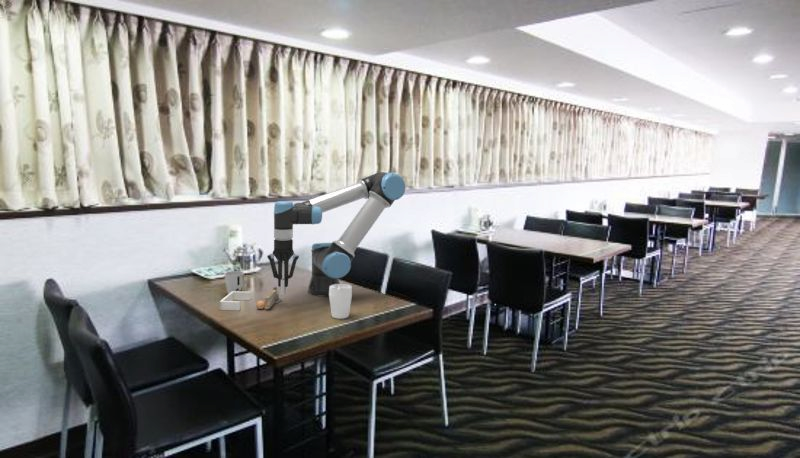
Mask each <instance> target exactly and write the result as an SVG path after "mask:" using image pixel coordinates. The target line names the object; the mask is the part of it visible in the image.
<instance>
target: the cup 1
mask: <svg viewBox="0 0 800 458" xmlns="http://www.w3.org/2000/svg"><path fill="white" fill-rule="evenodd" d="M244 276H245V272H244V271H242V270H241V271H240V270H232V271H231V270H230V271H227V272H224V282H225V288H226V292H227V295H228V294H229V293H230V292H232V291H241V292H243V288H244V287H243V286H244V280H245V279H244Z"/></svg>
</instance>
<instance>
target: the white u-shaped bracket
mask: <svg viewBox="0 0 800 458" xmlns="http://www.w3.org/2000/svg"><path fill="white" fill-rule="evenodd" d="M251 295H252V294H251V291H242V292H241V291H232V292H230V293H229V294H228V293H227V295H226V296H225V297H223V298H221V300H220V301H219V302H218V303H219V307H218V308H219V309H218V310H219V311H238V312H239V311H241V301H250V300H252V297H251Z"/></svg>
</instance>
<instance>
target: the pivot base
mask: <svg viewBox="0 0 800 458" xmlns="http://www.w3.org/2000/svg"><path fill="white" fill-rule="evenodd" d="M281 302H283V299H282V298H280V297H279V299H278V300H276V301H275V302H274V304H279V303H281Z"/></svg>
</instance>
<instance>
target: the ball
mask: <svg viewBox="0 0 800 458" xmlns="http://www.w3.org/2000/svg"><path fill="white" fill-rule="evenodd" d="M256 308H257V309H258V310H263V309H265V301H264V300H259V301H257V303H256Z"/></svg>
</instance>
